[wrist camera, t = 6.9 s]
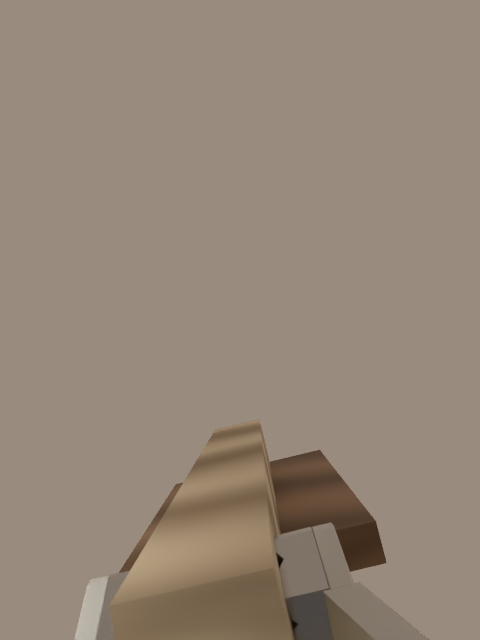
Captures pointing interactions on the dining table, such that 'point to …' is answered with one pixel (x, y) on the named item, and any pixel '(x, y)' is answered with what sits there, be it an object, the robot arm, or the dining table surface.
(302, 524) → the stand
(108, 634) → the robot arm
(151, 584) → the bar
